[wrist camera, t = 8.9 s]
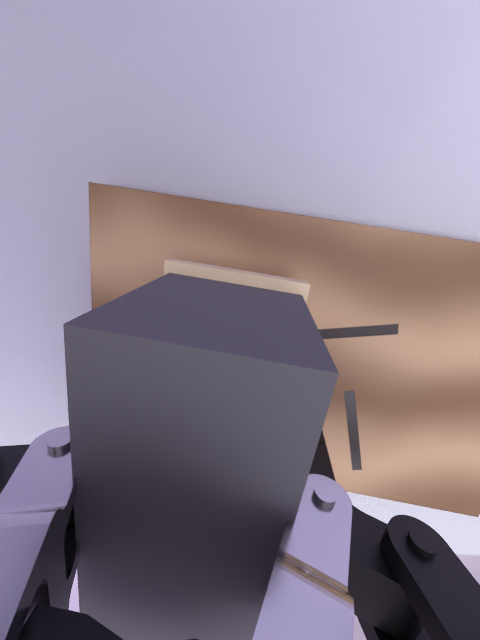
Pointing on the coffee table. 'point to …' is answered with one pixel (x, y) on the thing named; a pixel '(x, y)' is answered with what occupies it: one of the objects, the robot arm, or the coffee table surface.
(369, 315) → the oak board
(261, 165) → the coffee table surface
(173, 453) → the sanding block
